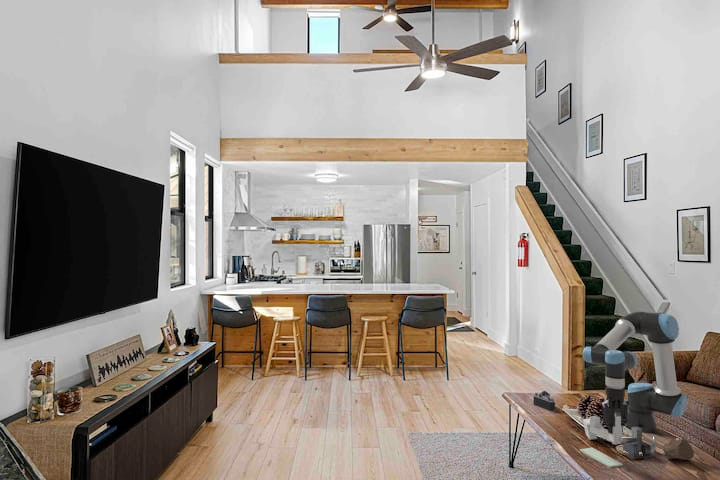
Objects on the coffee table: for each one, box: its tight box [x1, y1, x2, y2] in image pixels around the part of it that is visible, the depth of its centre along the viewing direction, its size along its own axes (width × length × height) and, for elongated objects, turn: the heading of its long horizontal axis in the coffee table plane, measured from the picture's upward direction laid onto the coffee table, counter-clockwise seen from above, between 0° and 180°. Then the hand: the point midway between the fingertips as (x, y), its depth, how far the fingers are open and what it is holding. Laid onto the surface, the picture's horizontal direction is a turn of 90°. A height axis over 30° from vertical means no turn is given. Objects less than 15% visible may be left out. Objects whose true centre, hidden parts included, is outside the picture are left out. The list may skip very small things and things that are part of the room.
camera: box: [532, 390, 557, 413], centre depth 285 cm, size 16×8×10 cm, turn 26°
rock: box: [662, 437, 695, 461], centre depth 215 cm, size 12×10×10 cm
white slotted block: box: [589, 413, 621, 445], centre depth 214 cm, size 3×15×12 cm, turn 16°
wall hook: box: [582, 418, 605, 441], centre depth 237 cm, size 8×10×10 cm
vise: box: [611, 427, 657, 460], centre depth 220 cm, size 24×8×12 cm, turn 106°
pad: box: [579, 447, 624, 469], centre depth 215 cm, size 7×18×1 cm, turn 16°
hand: (615, 440), depth 208 cm, fingers closed on white slotted block, 3 cm apart
